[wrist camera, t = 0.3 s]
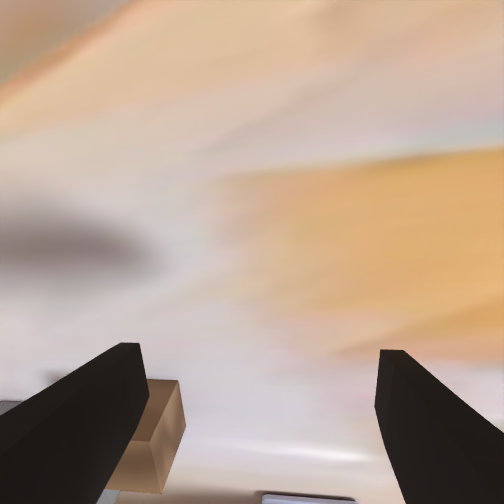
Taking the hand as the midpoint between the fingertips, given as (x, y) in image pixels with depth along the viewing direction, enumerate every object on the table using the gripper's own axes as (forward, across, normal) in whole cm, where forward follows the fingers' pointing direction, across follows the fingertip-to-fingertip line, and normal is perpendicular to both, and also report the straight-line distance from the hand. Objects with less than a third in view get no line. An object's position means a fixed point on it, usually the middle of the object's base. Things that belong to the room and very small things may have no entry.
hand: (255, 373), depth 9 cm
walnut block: (+10, +9, +12) cm, 18 cm away
